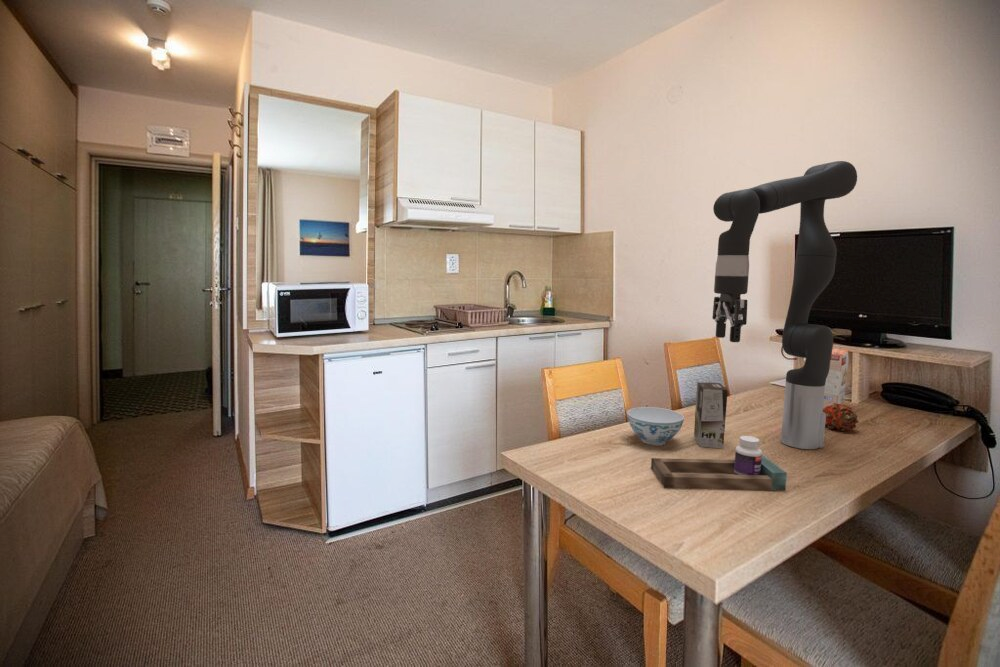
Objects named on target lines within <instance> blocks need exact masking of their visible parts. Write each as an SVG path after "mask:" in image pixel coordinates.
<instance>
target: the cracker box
mask: <svg viewBox="0 0 1000 667" xmlns="http://www.w3.org/2000/svg"><path fill="white" fill-rule="evenodd" d="M849 357H850V350H849V349H844V348H842V349H841V348H833V349H832V355H831V361H830V368H829V373H828V376H827V378H826V383H825V393H824V404H823V408H825V407H826V406H831V405H834V404H833V403H837V404H841V405H842V404H845V402H844V400H845V394H846V393H845V392H846V386H847V378H848V377H847V376H848V369H849V360H850V358H849Z"/></svg>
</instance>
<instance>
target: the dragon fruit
mask: <svg viewBox="0 0 1000 667" xmlns="http://www.w3.org/2000/svg"><path fill="white" fill-rule="evenodd" d="M833 404H834V405H831V406H826V407H825V408H823V412H824V413H826V422H825V425H827V428H828V429H830V430H834V429H837V430H838V431H842V432H845V431H846V430H847V429H851V430H853V429H855V428H856V427H857V424H858V423H860V421H859V420H858V414H856V412H855V411H854V410H852V408H851V407H850V406H848V405H847V404H845V403H843V404H842V405H841V404H837V403H833Z"/></svg>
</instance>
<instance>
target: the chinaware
mask: <svg viewBox="0 0 1000 667" xmlns="http://www.w3.org/2000/svg"><path fill="white" fill-rule="evenodd" d="M626 415H627V420H628V424H629V426H630V429H632V431H633V432H634V433H635V434H636V435H637V436H638V437H639V438H640V441H641V440H642V441H643V442H642V441H641V442H642V443H644V442H645V443H644V444H646V443H648V444H647V445H650V444H653V445H652V446H664V445H666V444H667V442H668V441H670V440H671V439H673V438H674V437H675V436H676V435H677V434H678V433H679V432H680V430H681V429H682V428H681V427H682V425H683V423H684V421H685V420H684V419H685V416H684V415H683V414H682V413H680V412H678V411H676V410H671V409H668V408H662V407H656V406H655V407H653V406H639V407H633V408H630V409H627V412H626ZM663 444H664V445H663Z"/></svg>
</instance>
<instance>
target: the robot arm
mask: <svg viewBox="0 0 1000 667" xmlns="http://www.w3.org/2000/svg"><path fill="white" fill-rule="evenodd" d="M857 182H858V172H857V169H856V167H855V166H854V165H853V164H852V163H850V162H849V161H846V160H845V161H844V160H838V161H831V162H827V163H822V164H818V165H817V164H816V165H813V166H811V167H809V168H807V170H806V171H805V172H804V174H803V175H802V176H801V175H800V176H796V177H791V178H783V179H779V180H773V181H770V182H766V183H762V184H760V185H756V186H754V187H750V188H746V189H745V188H744V189H739V190H733V191H730V192H724V193H722V194H721V195H720V196H718V197H717V198H716V200H715V201H714V204H713V213H714V216H715V217H716V218H717V219H718V220H719V221H722V222H726V223H727V222H731V224H730V226H729V228H728V229H727V230H725V231H723V232H721V233H720V234H719V237H718V243H717V244H718V245H717V257H716V262H715V274H714V286H713V292H714V294H718V295H719V296H714V297H713V306H712V320H714V323H716V326H715V337H716V338H717V339H718V338H720V339H721V338H722V339H724V338H725V337H726V333H727V332H726V331H727V330H726V328H727V320H729V323H730V328H729V342H731V343H739V342H741V334H742V333H741V332H742V329H741V328H742V327H743V326H745V325H747V322H748V299H741V298H742V297H741V295H745V294H748V288H749V287H748V286H749V274H750V273H749V272H750V256H749V255H750V244H751V237H752V235H753V232H754V229H755V226H756V223H757V220H758V218H759V215H760V214H767V213H771V212H773V211H778V210H781V209H785V208H788V207H791V206H795V205H798V204H800V206H799V207H800V209H799V210H800V211H799V212H800V213H799V214H800V215H799V218H800V219H799V228H798V229H799V230H798V240H797V247H796V254H795V260H794V268H793V280H792V287H791V294H790V300H789V304H788V310H787V313H786V317H785V322H784V326H783V331H782V335H781V337H782V338H781V344H782V349H783V351H784V352H785V354H787V355H788V356H792V357H798V358H802V359H803V358H804V359H805V360H804V365H803V366H802V367H800V368H794V369H789V370H787V371H786V375H785V386H784V387H785V388H784V399H783V408H782V421H781V422H782V423H781V432H780V433H781V434H780V442H781V443H782V444H784V445H786V446H789V447H792V448H796V449H802V450H816V449H820V448H824V441H825V440H824V439H825V432H826V430H825V429H826V413H824V412H823V404H824V393H825V383H826V378H827V376H828V373H829V368H830V361H831V355H832V349H834V335H833V332H832V329H830V327H828V326H826V325H821V324H813V323H812V324H811V323H808V321H809V315H810V312H811V308H812V306H813V305H814V303H815V301H816V300H817V298H818V297H819V296H820V295H821V293H823V291H824V290H825V289H826V287H827V286H828V285H829V284H830V282H831V281H832V279H833V277H834V275H835V270H836V269H835V268H836V262H837V254H838V253H837V252H838V251H837V245H836V243H835V241H834V239H833V237H832V235H831V233H830V231H829V228H828V227H827V225H826V222H825V216H824V215H825V203H826V200H833V199H839V198H842V197H843V198H844V197H845V196H847V195H848V194H850V193H851V192H853V190H854V189H855V187H856V185H857Z"/></svg>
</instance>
